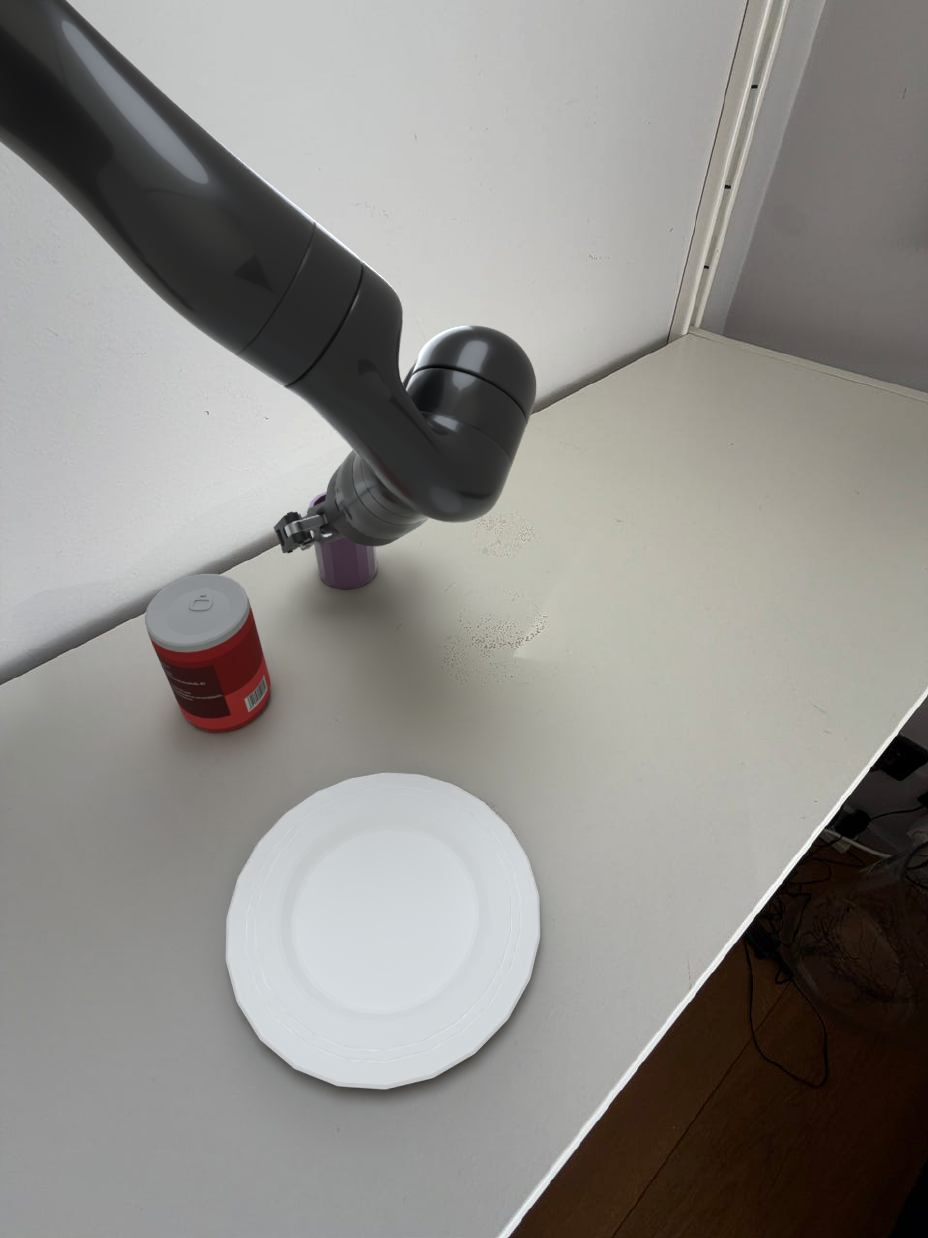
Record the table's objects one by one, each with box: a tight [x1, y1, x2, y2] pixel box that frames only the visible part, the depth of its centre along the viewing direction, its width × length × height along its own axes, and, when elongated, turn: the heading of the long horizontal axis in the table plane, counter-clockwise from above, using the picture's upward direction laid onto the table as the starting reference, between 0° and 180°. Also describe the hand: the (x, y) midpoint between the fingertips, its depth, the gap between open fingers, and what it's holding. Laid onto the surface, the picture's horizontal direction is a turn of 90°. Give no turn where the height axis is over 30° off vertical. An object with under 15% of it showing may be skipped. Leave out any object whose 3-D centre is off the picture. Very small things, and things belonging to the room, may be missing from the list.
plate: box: [225, 771, 541, 1091], centre depth 48 cm, size 21×21×2 cm
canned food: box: [144, 573, 272, 733], centre depth 58 cm, size 8×8×11 cm
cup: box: [307, 491, 378, 590], centre depth 71 cm, size 6×6×8 cm
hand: (341, 526), depth 70 cm, fingers open, 8 cm apart
